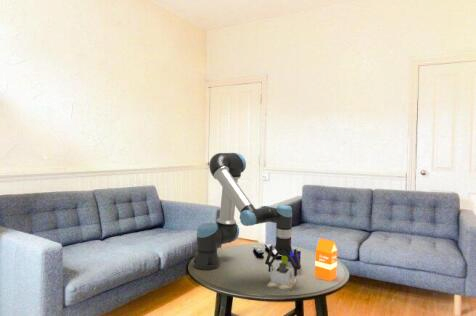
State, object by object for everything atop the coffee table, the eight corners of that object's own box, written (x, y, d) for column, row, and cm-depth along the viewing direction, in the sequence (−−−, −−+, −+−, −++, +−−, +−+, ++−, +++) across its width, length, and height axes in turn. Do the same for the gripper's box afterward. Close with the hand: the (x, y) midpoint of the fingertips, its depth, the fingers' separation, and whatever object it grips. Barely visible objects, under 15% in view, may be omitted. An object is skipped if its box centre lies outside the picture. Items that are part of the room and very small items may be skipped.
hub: (271, 283, 165) (271, 271, 165) (275, 276, 174) (276, 265, 174) (289, 286, 162) (289, 274, 162) (292, 279, 171) (293, 268, 170)
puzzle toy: (299, 274, 181) (300, 256, 180) (281, 273, 183) (281, 255, 182) (300, 268, 191) (300, 251, 190) (282, 266, 193) (283, 249, 192)
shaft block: (267, 286, 165) (267, 265, 164) (273, 277, 176) (274, 258, 176) (291, 290, 160) (292, 269, 160) (296, 281, 172) (297, 261, 171)
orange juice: (330, 281, 173) (331, 243, 172) (314, 276, 179) (315, 239, 178) (336, 277, 179) (337, 240, 178) (321, 272, 185) (322, 236, 184)
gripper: (259, 235, 168) (258, 279, 169) (305, 241, 160) (304, 287, 160) (263, 232, 175) (262, 273, 176) (308, 237, 167) (306, 281, 167)
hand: (282, 280), depth 168 cm, fingers open, 11 cm apart
